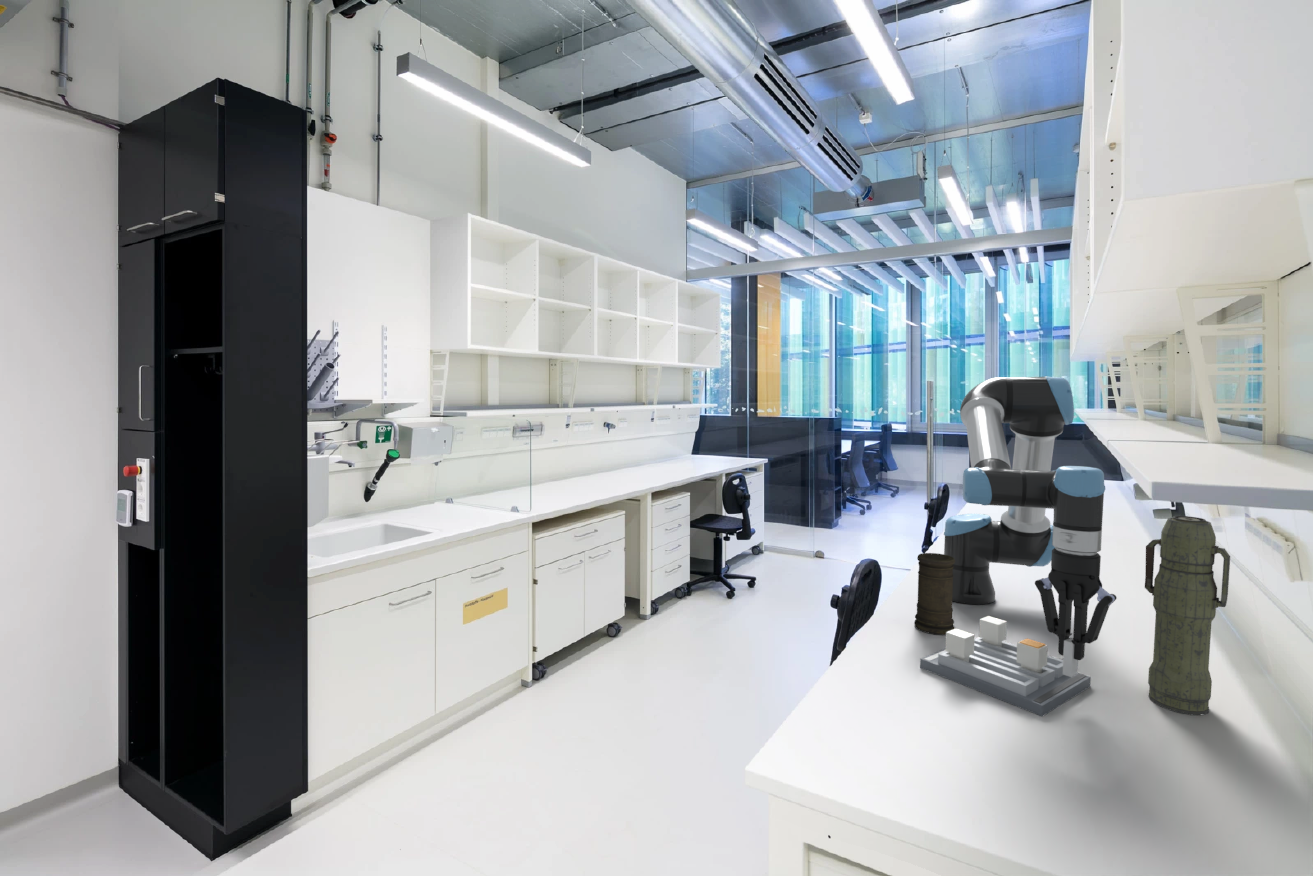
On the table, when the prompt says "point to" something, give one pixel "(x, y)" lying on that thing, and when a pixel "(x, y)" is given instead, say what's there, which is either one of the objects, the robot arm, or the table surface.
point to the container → (935, 593)
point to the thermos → (1184, 613)
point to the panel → (1002, 669)
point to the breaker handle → (1032, 655)
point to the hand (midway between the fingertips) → (1070, 673)
